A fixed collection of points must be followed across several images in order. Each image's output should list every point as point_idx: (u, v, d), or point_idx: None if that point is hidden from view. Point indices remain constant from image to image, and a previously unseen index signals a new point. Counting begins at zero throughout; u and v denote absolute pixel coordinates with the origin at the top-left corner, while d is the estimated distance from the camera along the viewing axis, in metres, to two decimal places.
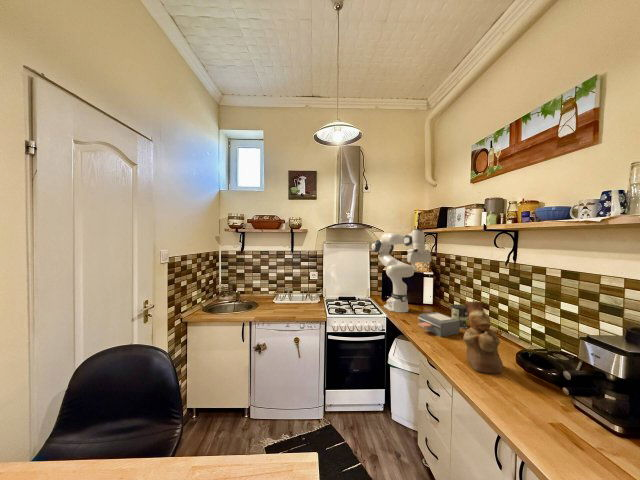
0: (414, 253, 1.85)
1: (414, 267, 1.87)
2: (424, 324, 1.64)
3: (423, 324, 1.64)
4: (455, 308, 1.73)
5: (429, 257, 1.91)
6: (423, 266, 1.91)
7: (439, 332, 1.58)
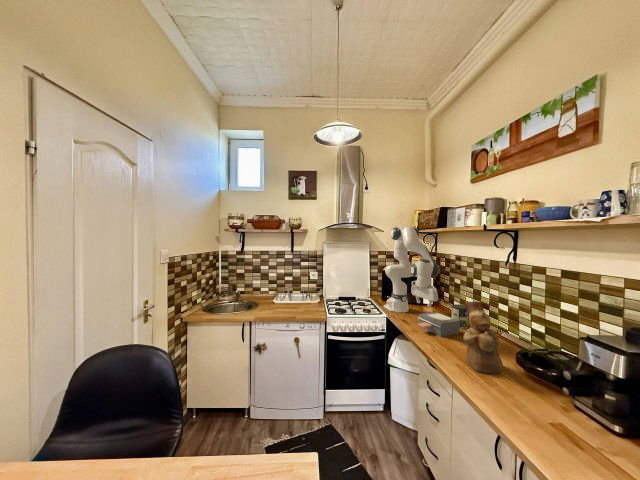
0: (413, 285, 1.69)
1: None
2: (424, 324, 1.64)
3: (423, 324, 1.64)
4: (455, 308, 1.73)
5: (431, 295, 1.55)
6: (429, 304, 1.60)
7: (439, 332, 1.58)
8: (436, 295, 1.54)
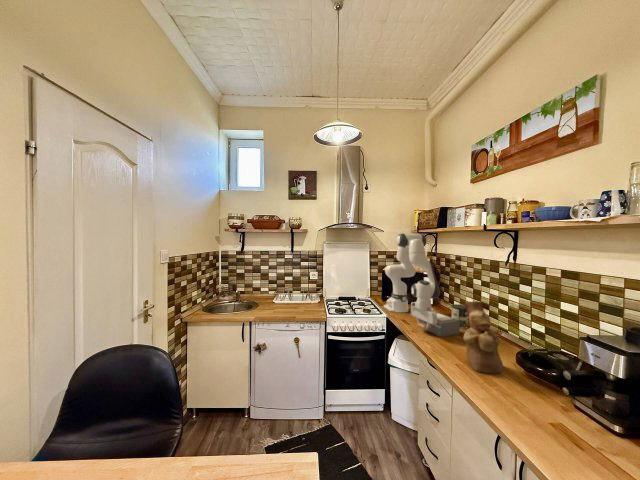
0: (413, 307, 1.69)
1: None
2: (424, 324, 1.64)
3: (423, 324, 1.64)
4: (455, 308, 1.73)
5: (430, 318, 1.56)
6: None
7: (439, 332, 1.58)
8: (435, 318, 1.55)
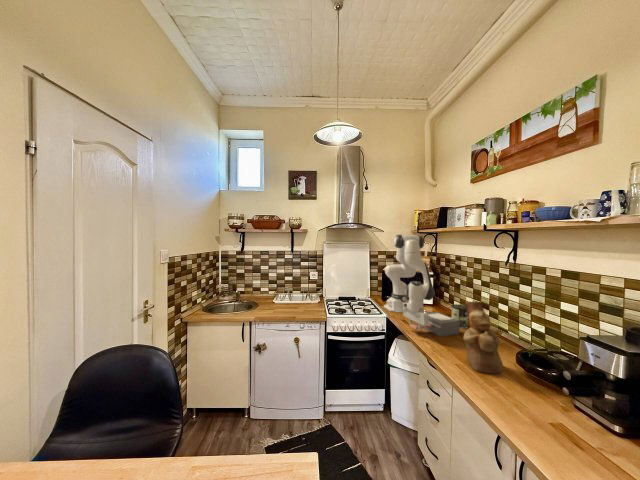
0: (405, 307, 1.67)
1: None
2: (416, 325, 1.61)
3: (415, 325, 1.61)
4: (455, 308, 1.73)
5: (422, 319, 1.53)
6: None
7: (439, 332, 1.58)
8: (427, 319, 1.52)
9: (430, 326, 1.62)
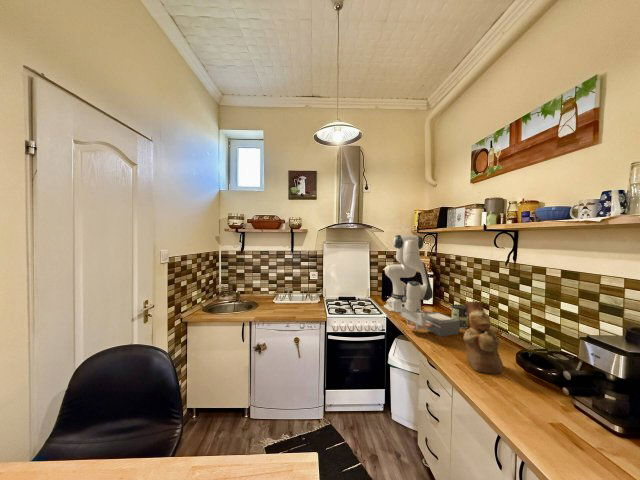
0: (403, 308, 1.66)
1: (408, 324, 1.65)
2: (414, 325, 1.61)
3: (413, 325, 1.61)
4: (455, 308, 1.73)
5: (419, 320, 1.53)
6: None
7: (439, 332, 1.58)
8: (425, 320, 1.52)
9: (428, 326, 1.62)
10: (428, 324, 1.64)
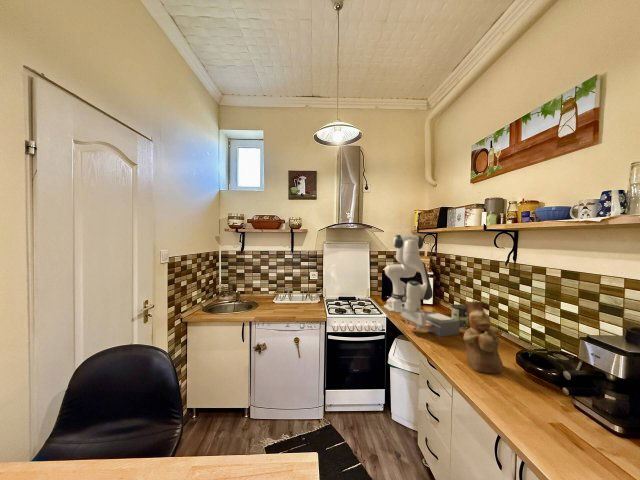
0: (403, 307, 1.66)
1: None
2: (414, 325, 1.61)
3: (413, 325, 1.61)
4: (455, 308, 1.73)
5: (419, 319, 1.53)
6: None
7: (439, 332, 1.58)
8: (424, 319, 1.52)
9: (428, 326, 1.62)
10: (428, 324, 1.64)
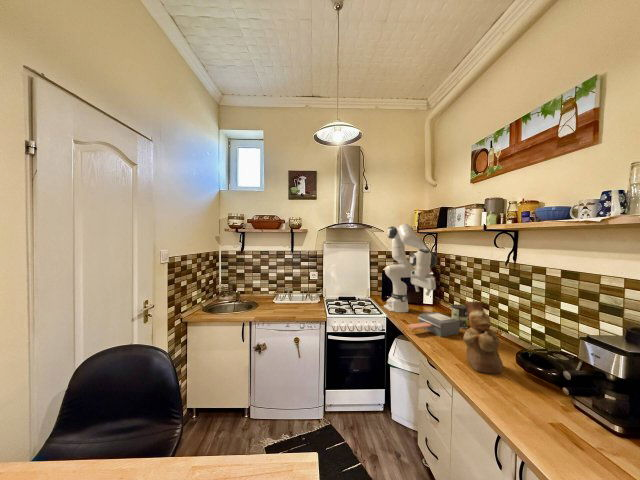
0: (413, 275, 1.75)
1: None
2: (414, 325, 1.61)
3: (413, 325, 1.61)
4: (455, 308, 1.73)
5: (429, 284, 1.61)
6: None
7: (439, 332, 1.58)
8: (434, 284, 1.60)
9: (428, 326, 1.62)
10: (428, 324, 1.64)
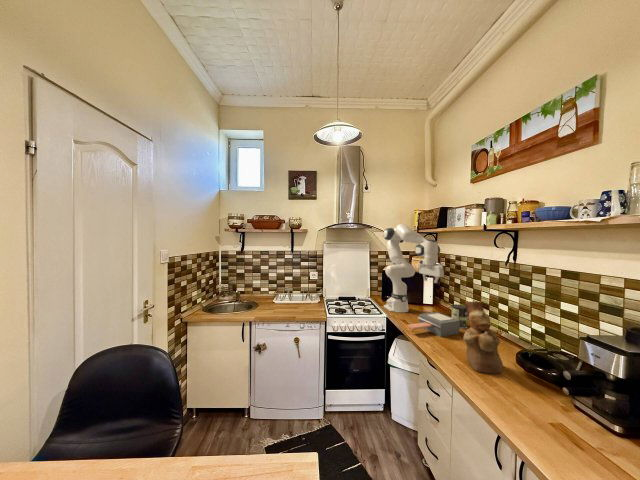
0: (421, 264, 1.82)
1: None
2: (414, 325, 1.61)
3: (413, 325, 1.61)
4: (455, 308, 1.73)
5: (437, 272, 1.68)
6: None
7: (439, 332, 1.58)
8: (442, 271, 1.67)
9: (428, 326, 1.62)
10: (428, 324, 1.64)
